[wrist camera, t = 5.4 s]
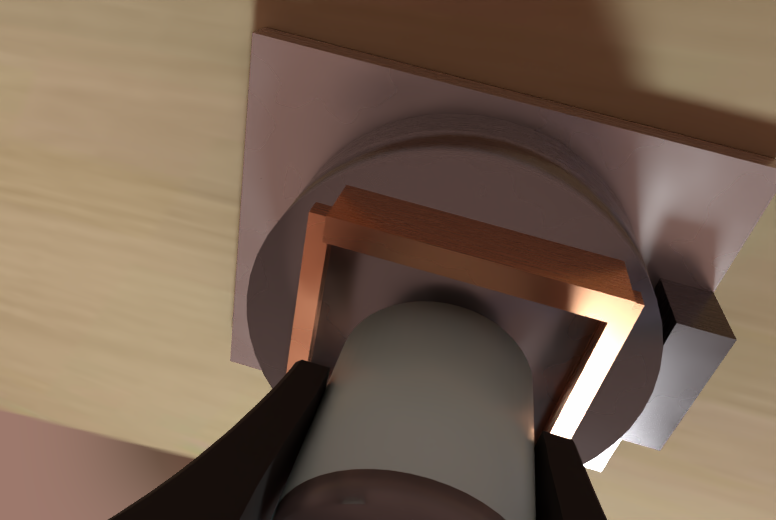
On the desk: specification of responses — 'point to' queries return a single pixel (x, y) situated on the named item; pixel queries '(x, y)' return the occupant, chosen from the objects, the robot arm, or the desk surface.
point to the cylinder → (420, 424)
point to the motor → (488, 232)
